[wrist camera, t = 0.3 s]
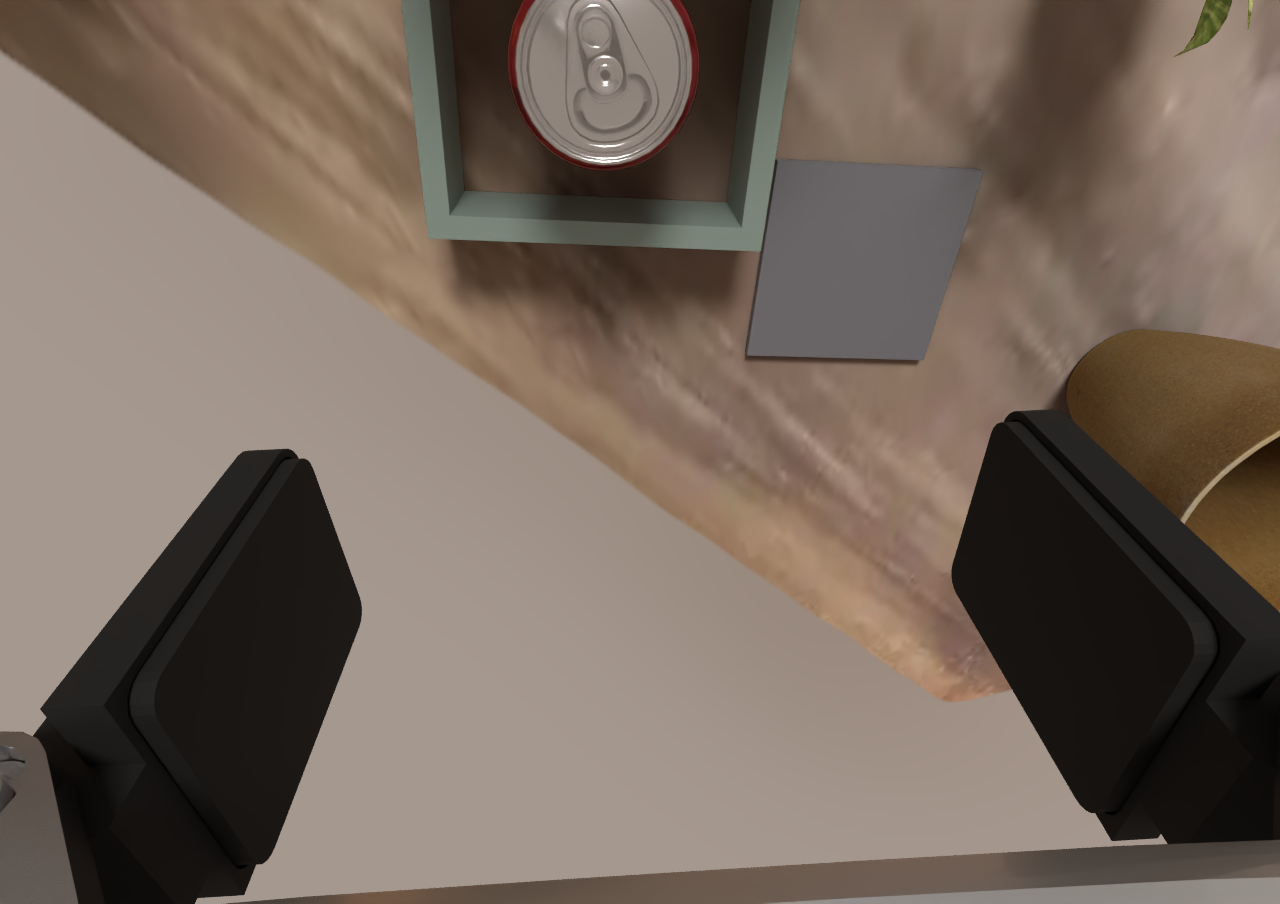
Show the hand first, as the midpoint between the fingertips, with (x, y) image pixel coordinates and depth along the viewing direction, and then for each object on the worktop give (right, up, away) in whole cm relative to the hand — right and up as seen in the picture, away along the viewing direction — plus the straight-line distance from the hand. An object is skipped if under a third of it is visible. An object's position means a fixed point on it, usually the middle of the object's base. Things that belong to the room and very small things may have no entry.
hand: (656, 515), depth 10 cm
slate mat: (+13, +12, +33) cm, 38 cm away
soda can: (-2, +22, +26) cm, 34 cm away
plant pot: (+34, +6, +39) cm, 52 cm away
